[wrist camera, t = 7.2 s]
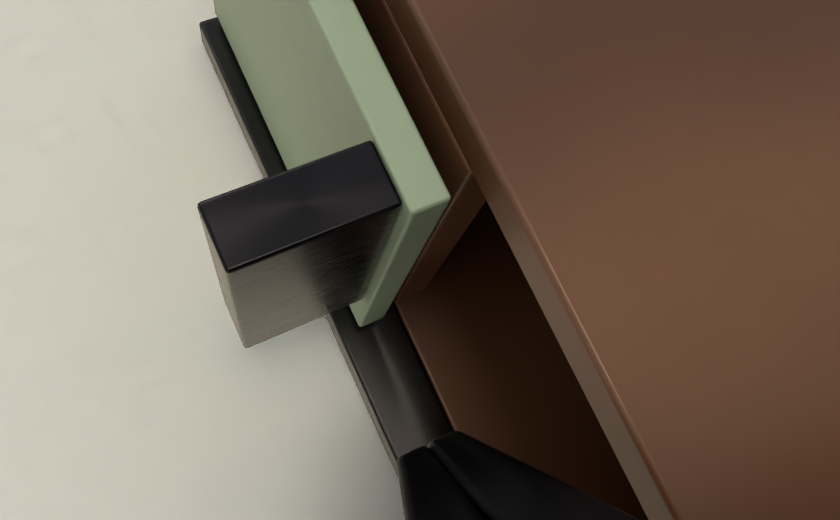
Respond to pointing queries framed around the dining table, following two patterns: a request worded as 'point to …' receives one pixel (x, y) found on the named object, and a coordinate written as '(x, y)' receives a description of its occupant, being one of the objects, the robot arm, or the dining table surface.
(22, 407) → the dining table surface
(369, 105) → the sliding cabinet door
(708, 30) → the cabinet
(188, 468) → the dining table surface
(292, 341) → the dining table surface
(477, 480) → the robot arm
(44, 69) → the dining table surface
